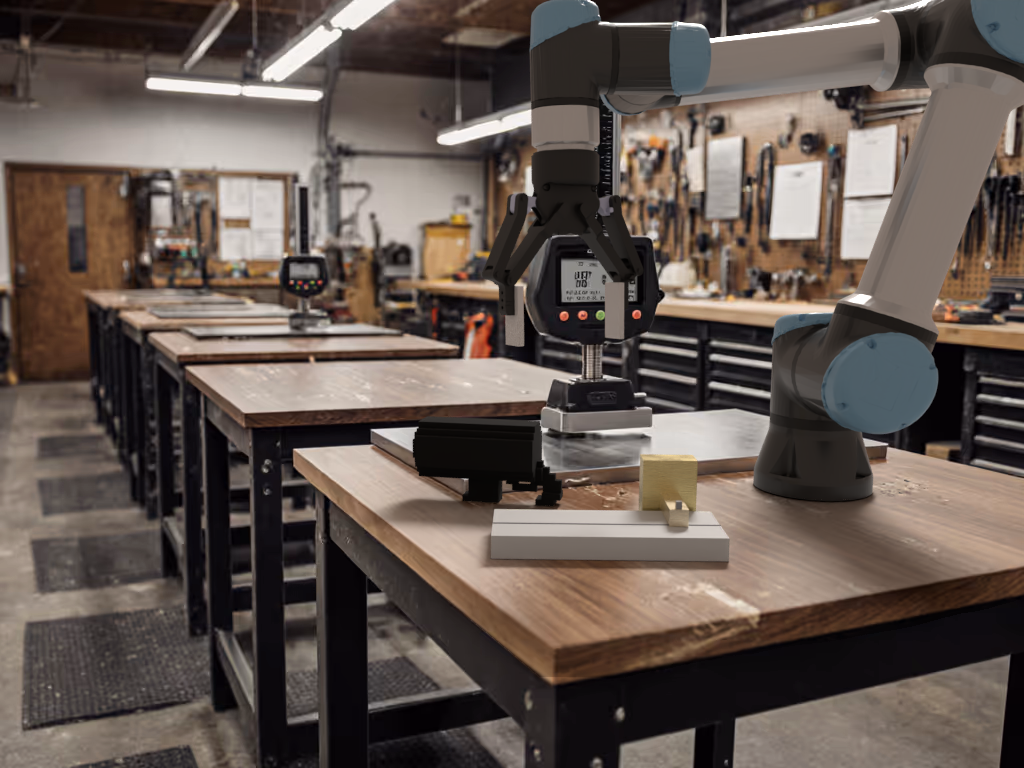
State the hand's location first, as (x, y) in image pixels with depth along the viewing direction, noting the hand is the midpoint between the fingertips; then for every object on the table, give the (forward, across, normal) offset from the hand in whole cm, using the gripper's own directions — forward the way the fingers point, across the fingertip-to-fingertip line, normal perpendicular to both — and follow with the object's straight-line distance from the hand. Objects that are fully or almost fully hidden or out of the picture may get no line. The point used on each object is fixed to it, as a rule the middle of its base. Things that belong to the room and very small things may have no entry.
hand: (566, 342), depth 108 cm
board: (+21, +2, +10) cm, 23 cm away
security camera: (+21, +4, -12) cm, 24 cm away
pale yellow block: (+21, -6, +11) cm, 24 cm away
